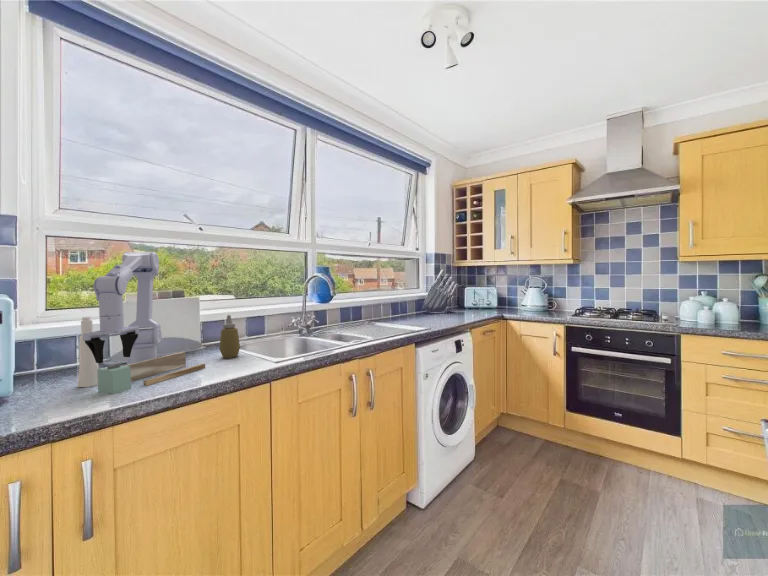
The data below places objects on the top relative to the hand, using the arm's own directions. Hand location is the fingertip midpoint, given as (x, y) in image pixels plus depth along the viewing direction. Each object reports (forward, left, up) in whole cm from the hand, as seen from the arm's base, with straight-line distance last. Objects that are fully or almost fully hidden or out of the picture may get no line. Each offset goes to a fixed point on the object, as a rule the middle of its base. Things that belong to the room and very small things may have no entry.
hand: (113, 359), depth 104 cm
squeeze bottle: (+1, +45, -10) cm, 46 cm away
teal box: (0, 0, -10) cm, 10 cm away
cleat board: (0, +17, -9) cm, 19 cm away
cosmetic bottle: (-14, +1, -10) cm, 17 cm away
